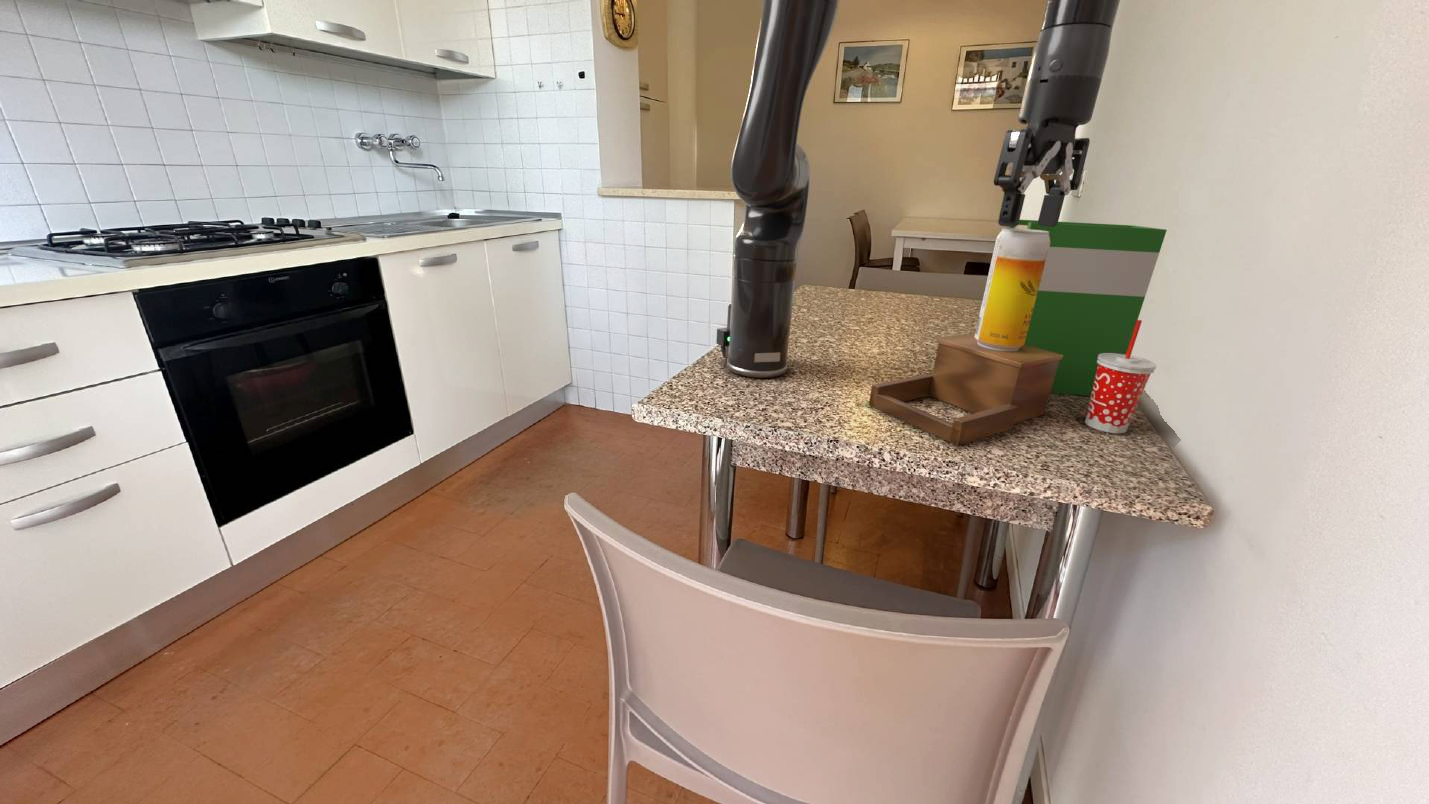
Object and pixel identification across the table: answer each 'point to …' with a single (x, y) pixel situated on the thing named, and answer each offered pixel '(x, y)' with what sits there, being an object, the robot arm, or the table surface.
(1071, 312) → the hardback book
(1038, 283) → the beer can
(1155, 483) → the table surface
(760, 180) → the robot arm
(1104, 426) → the beverage cup
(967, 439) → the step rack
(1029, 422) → the table surface
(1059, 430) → the table surface
